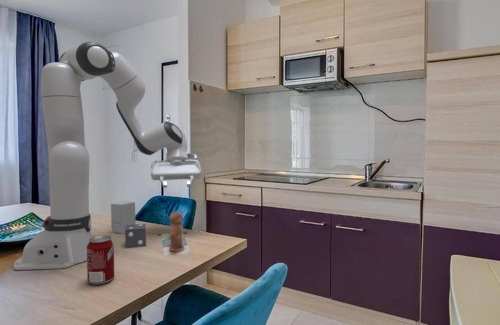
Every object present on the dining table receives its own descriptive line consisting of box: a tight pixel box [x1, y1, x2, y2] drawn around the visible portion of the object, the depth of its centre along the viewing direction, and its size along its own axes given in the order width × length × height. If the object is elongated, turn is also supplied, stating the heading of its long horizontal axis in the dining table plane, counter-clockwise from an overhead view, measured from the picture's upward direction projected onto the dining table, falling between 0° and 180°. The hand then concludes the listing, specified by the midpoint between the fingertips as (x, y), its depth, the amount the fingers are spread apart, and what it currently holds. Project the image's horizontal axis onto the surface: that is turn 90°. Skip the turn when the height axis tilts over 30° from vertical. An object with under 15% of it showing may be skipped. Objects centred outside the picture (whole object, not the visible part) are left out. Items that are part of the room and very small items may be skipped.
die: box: [124, 223, 147, 249], centre depth 116 cm, size 7×7×7 cm
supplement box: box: [110, 200, 136, 235], centre depth 135 cm, size 7×7×13 cm
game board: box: [156, 231, 192, 257], centre depth 119 cm, size 12×28×1 cm, turn 18°
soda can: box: [86, 235, 115, 286], centre depth 85 cm, size 7×7×12 cm
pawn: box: [169, 211, 184, 253], centre depth 110 cm, size 5×5×14 cm
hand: (177, 186), depth 122 cm, fingers open, 8 cm apart
